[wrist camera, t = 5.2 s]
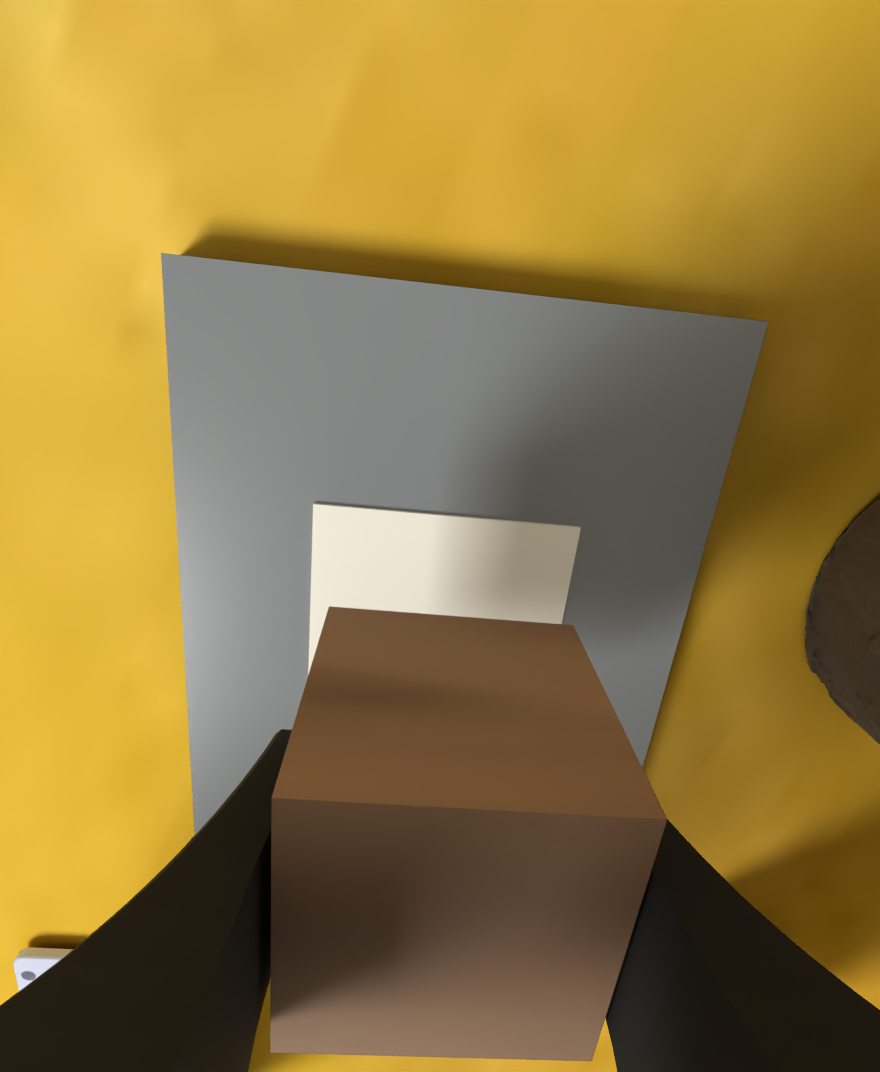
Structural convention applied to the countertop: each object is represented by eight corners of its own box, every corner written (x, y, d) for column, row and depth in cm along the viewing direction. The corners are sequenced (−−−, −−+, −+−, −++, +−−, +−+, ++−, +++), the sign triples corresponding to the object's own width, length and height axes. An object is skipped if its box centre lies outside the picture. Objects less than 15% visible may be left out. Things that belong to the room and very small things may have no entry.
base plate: (603, 850, 21) (612, 878, 20) (206, 829, 21) (194, 856, 20) (747, 320, 15) (771, 321, 14) (178, 256, 14) (159, 252, 13)
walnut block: (534, 811, 14) (591, 1061, 9) (320, 799, 14) (270, 1052, 9) (573, 625, 12) (667, 819, 8) (328, 606, 12) (271, 797, 7)
